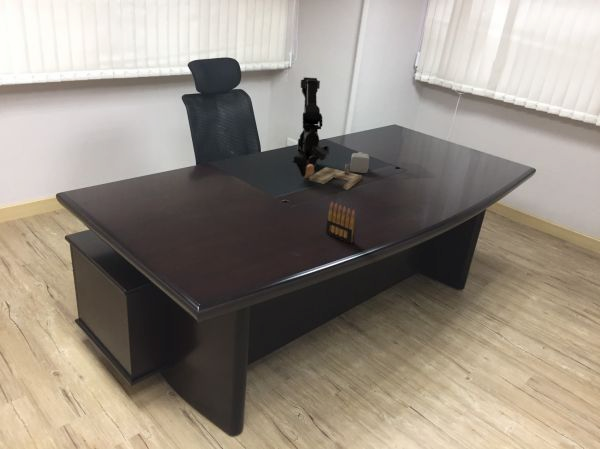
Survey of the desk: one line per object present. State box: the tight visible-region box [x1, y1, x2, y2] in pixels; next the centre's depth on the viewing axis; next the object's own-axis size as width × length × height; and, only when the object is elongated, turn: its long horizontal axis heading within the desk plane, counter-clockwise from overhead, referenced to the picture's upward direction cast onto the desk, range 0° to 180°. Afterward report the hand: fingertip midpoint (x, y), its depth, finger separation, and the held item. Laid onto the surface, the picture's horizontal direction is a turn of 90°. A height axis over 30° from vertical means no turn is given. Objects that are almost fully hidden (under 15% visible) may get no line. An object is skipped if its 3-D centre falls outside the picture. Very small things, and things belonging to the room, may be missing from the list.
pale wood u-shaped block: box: [309, 163, 363, 191], centre depth 218 cm, size 18×16×6 cm
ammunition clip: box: [325, 201, 356, 244], centre depth 167 cm, size 11×2×12 cm, turn 50°
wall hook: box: [349, 151, 370, 174], centre depth 231 cm, size 8×10×10 cm
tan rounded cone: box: [303, 164, 315, 179], centre depth 220 cm, size 5×5×5 cm
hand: (307, 173), depth 220 cm, fingers open, 8 cm apart
